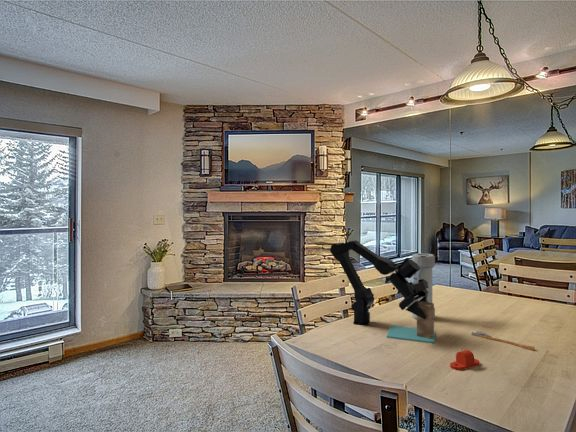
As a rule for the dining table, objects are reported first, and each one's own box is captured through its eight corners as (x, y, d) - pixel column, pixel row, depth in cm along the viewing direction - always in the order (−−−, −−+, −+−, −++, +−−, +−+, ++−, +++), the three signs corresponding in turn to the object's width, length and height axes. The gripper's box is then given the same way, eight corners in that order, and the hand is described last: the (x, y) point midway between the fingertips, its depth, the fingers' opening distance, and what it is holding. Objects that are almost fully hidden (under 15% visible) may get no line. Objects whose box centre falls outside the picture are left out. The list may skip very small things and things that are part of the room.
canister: (411, 319, 167) (411, 255, 166) (412, 313, 176) (412, 253, 175) (434, 321, 163) (434, 256, 162) (434, 315, 172) (434, 253, 172)
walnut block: (416, 335, 144) (416, 303, 143) (421, 332, 147) (421, 301, 147) (429, 338, 140) (429, 305, 140) (433, 335, 144) (433, 303, 144)
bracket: (457, 371, 114) (457, 356, 114) (447, 367, 117) (447, 352, 117) (482, 365, 119) (482, 350, 118) (472, 360, 122) (472, 346, 122)
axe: (540, 347, 133) (540, 342, 133) (534, 352, 129) (534, 348, 129) (477, 332, 150) (477, 328, 150) (470, 336, 146) (470, 332, 146)
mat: (386, 337, 144) (386, 335, 144) (390, 326, 157) (390, 325, 157) (434, 343, 137) (434, 341, 137) (434, 331, 150) (434, 330, 150)
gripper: (406, 276, 139) (435, 309, 132) (423, 270, 153) (450, 299, 146) (387, 293, 144) (414, 326, 137) (406, 285, 158) (431, 315, 151)
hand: (428, 316), depth 143 cm, fingers open, 7 cm apart
